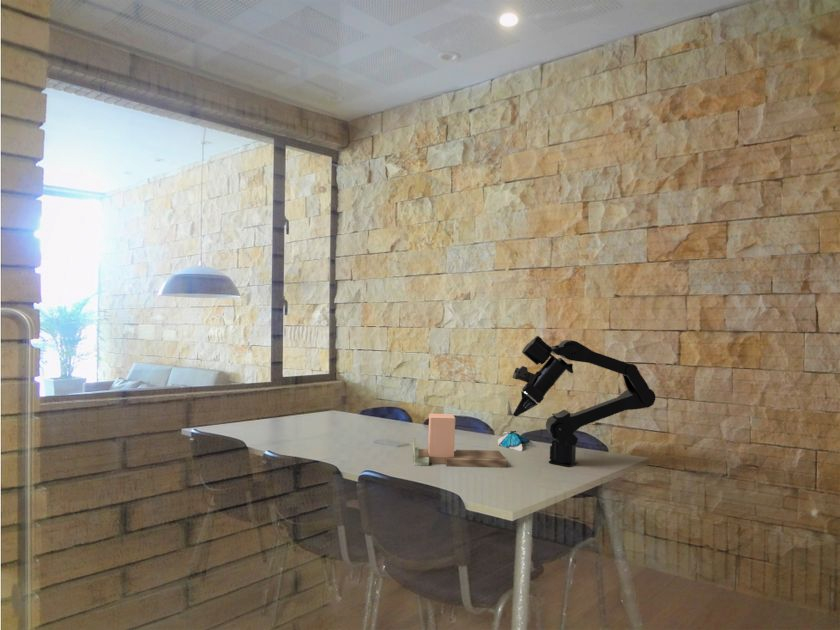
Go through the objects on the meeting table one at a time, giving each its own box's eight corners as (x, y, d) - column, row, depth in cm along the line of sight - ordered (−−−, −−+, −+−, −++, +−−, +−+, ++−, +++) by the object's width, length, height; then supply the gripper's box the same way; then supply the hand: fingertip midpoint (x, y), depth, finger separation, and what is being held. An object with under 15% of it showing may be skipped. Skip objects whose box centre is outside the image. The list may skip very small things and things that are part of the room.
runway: (498, 456, 175) (499, 440, 175) (506, 467, 163) (507, 449, 163) (412, 454, 173) (413, 438, 173) (414, 465, 161) (415, 447, 161)
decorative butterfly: (506, 430, 198) (532, 427, 192) (510, 449, 197) (536, 447, 191) (491, 434, 190) (518, 431, 184) (495, 454, 189) (521, 451, 183)
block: (451, 451, 171) (452, 414, 171) (453, 456, 164) (455, 418, 164) (427, 450, 171) (429, 413, 171) (429, 456, 164) (430, 417, 164)
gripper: (526, 359, 180) (494, 398, 180) (527, 354, 162) (491, 397, 162) (555, 383, 178) (522, 421, 178) (558, 380, 160) (522, 423, 160)
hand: (514, 415), depth 169 cm, fingers closed
